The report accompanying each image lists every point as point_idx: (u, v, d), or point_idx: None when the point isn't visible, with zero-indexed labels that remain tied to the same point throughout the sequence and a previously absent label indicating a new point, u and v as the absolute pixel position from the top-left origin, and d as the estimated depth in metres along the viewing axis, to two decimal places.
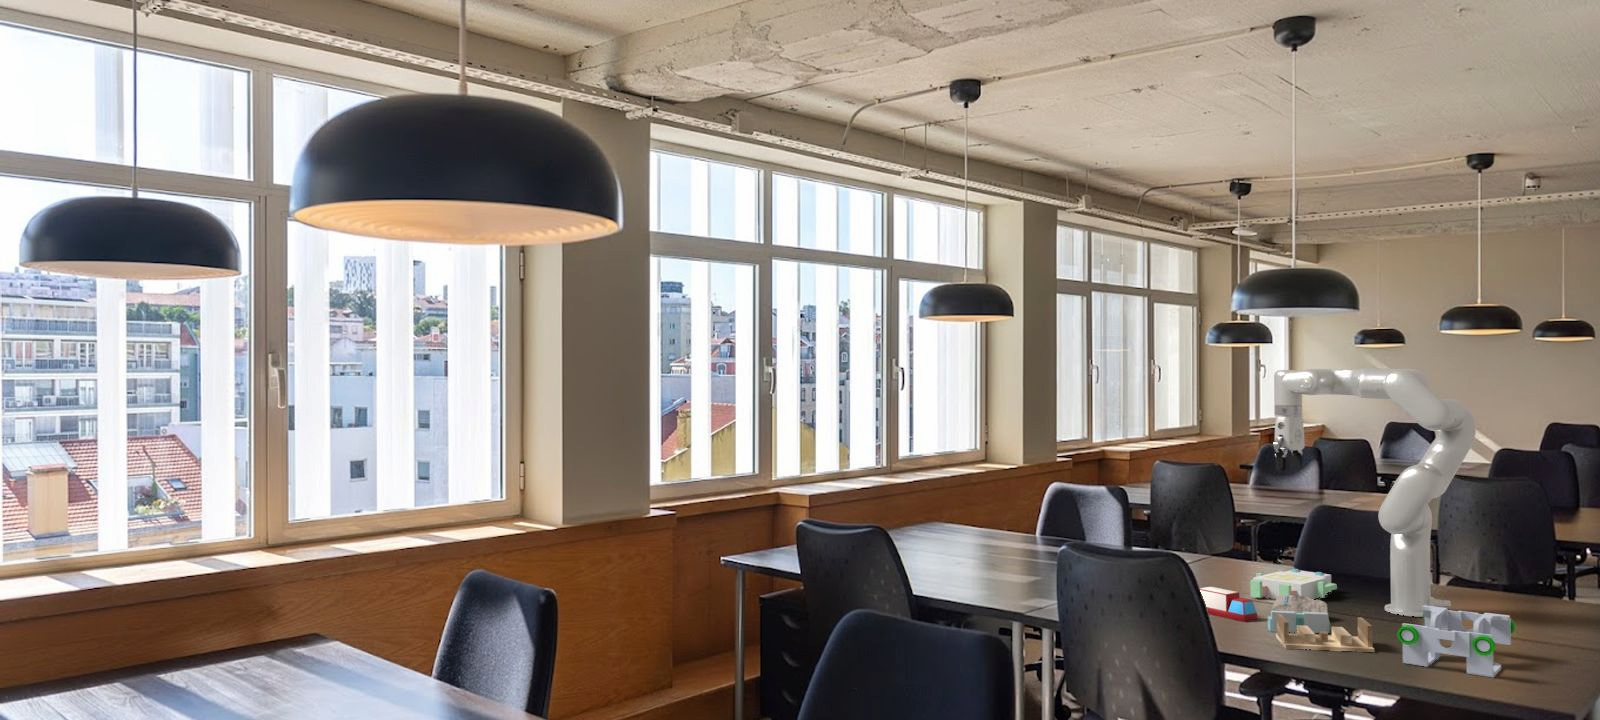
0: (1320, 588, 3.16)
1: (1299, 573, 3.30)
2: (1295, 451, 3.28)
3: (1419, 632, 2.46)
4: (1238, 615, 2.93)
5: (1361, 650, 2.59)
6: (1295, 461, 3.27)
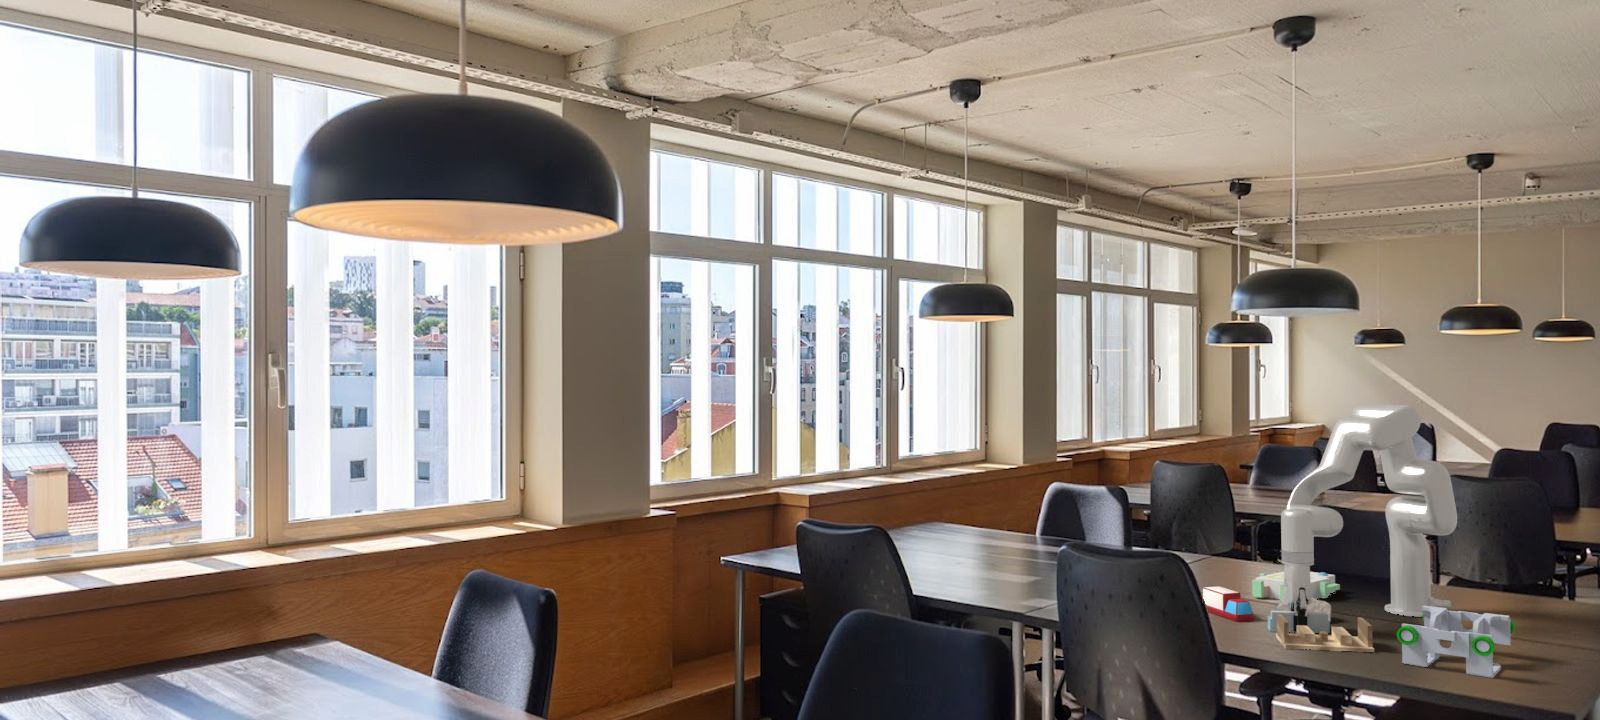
0: (1322, 588, 3.16)
1: None
2: None
3: (1418, 632, 2.46)
4: (1232, 615, 2.93)
5: (1361, 650, 2.59)
6: None
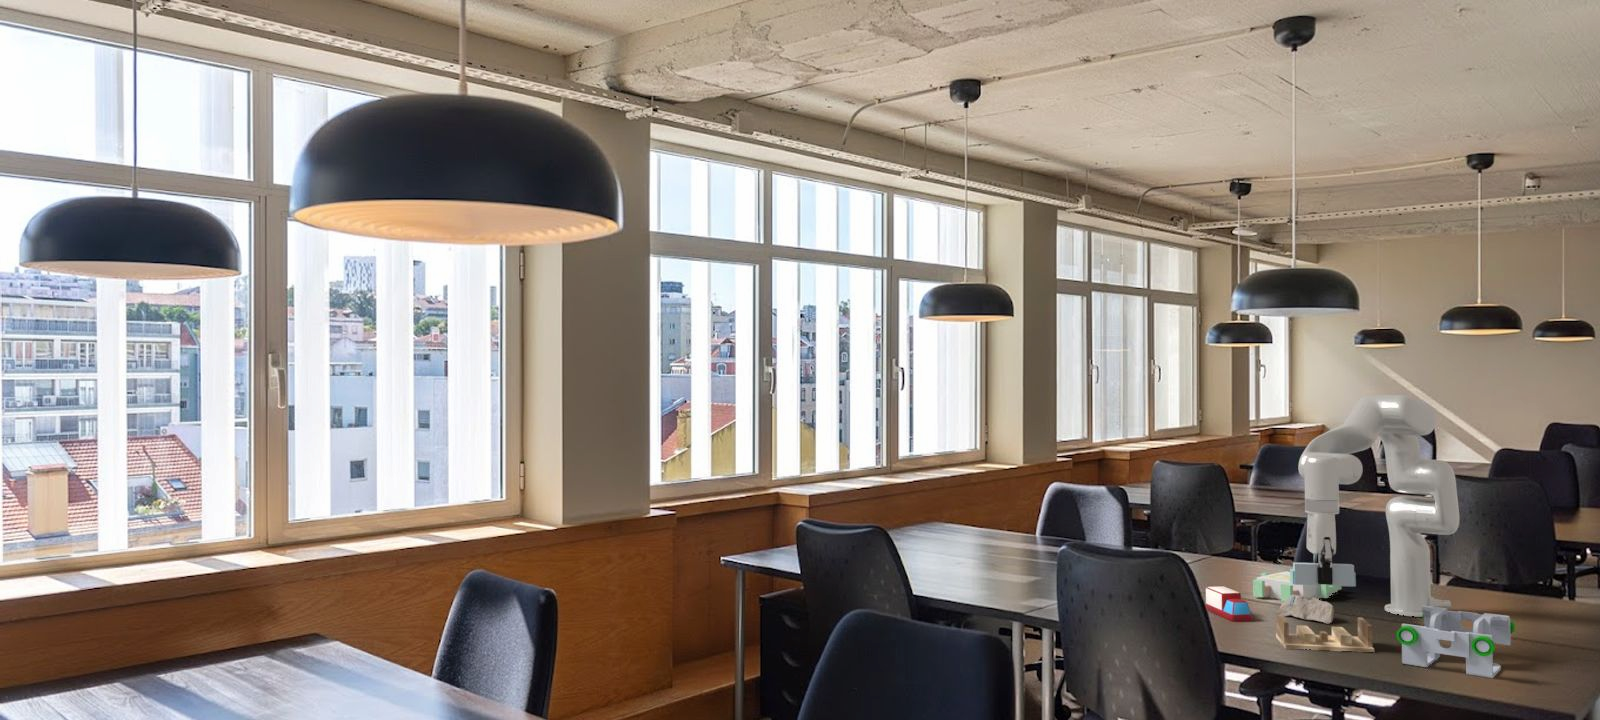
0: (1323, 588, 3.16)
1: None
2: None
3: (1418, 632, 2.46)
4: (1229, 614, 2.93)
5: (1361, 650, 2.59)
6: None
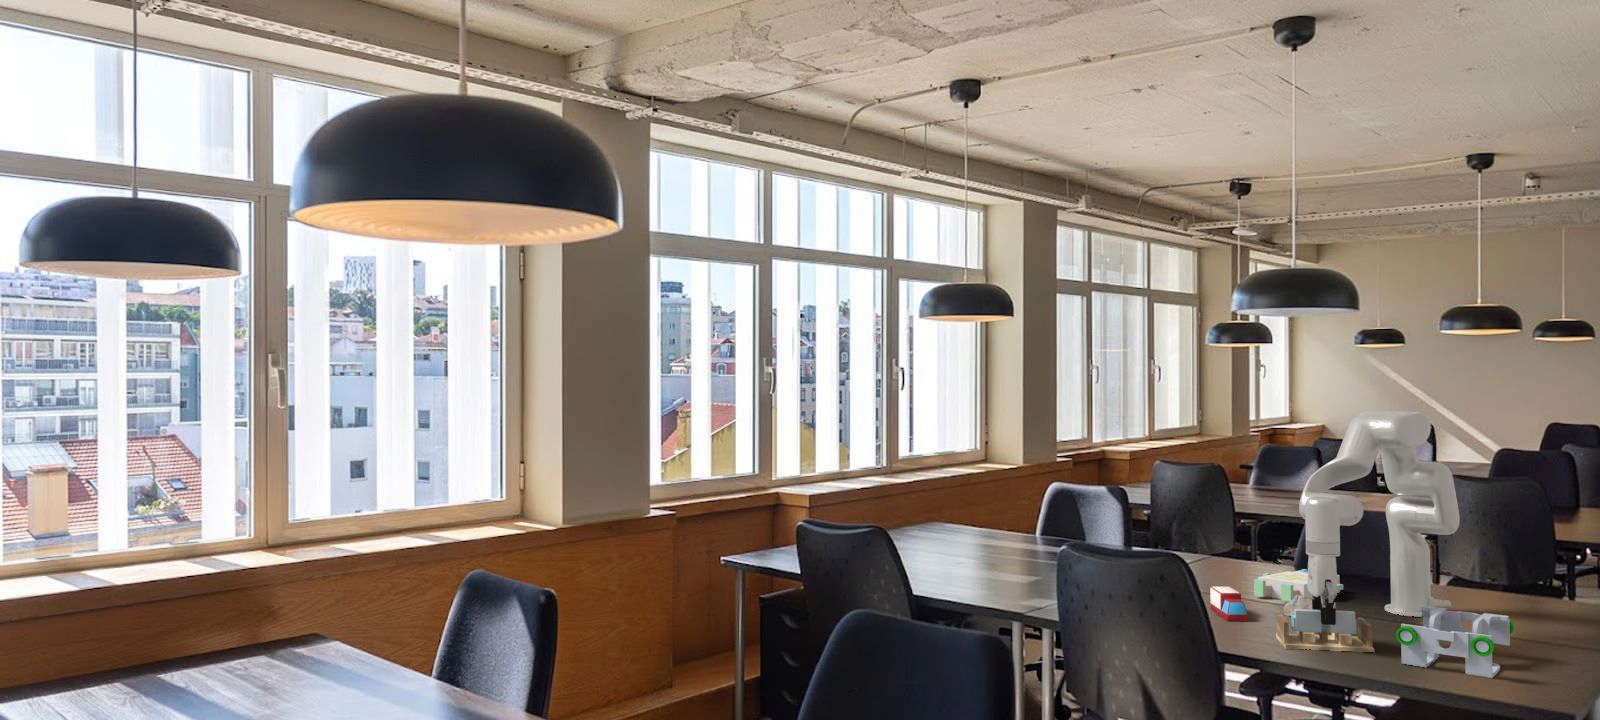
0: None
1: (1307, 573, 3.30)
2: None
3: (1418, 633, 2.46)
4: (1225, 614, 2.94)
5: (1361, 650, 2.59)
6: None
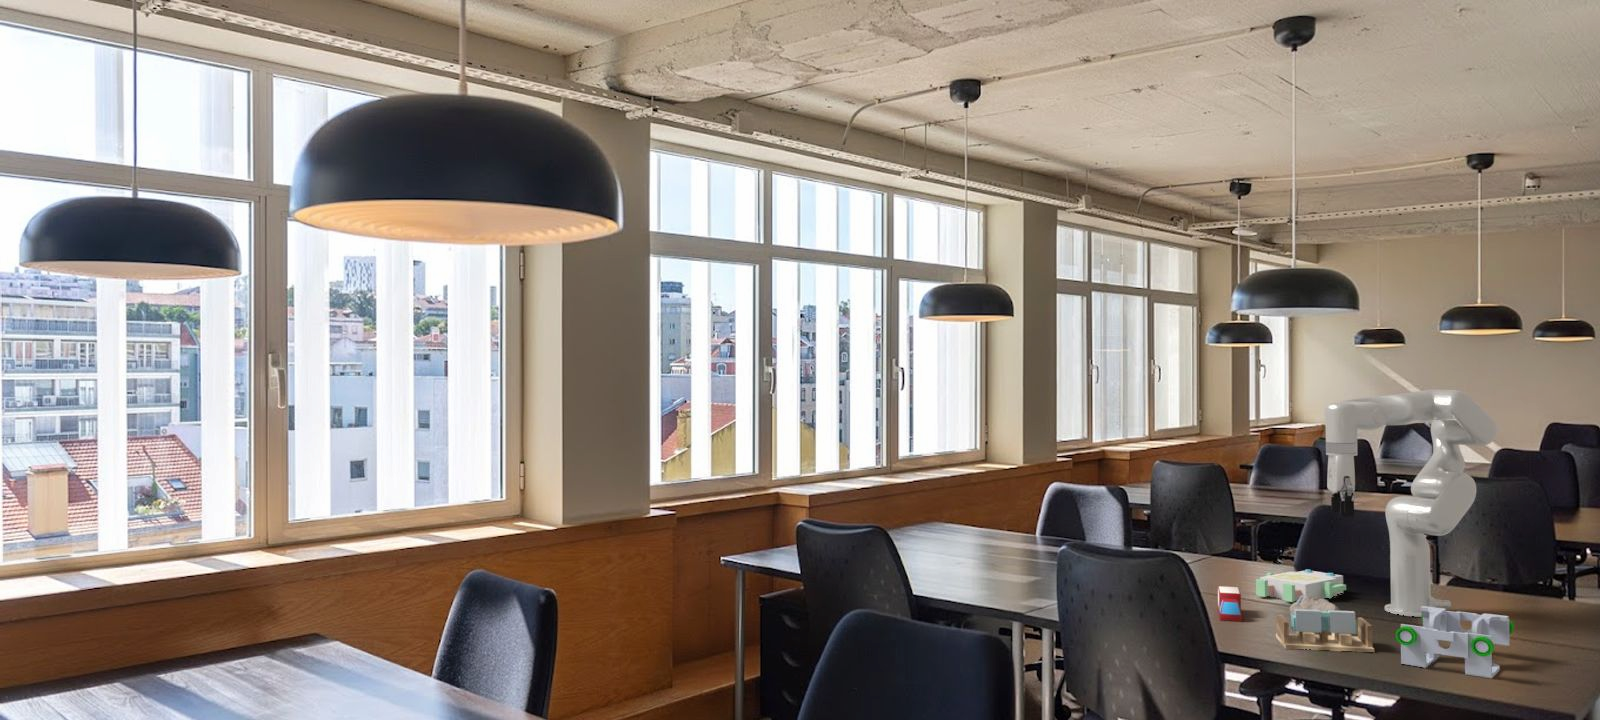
0: (1327, 588, 3.15)
1: (1310, 573, 3.29)
2: None
3: (1417, 633, 2.46)
4: None
5: (1361, 650, 2.59)
6: None
